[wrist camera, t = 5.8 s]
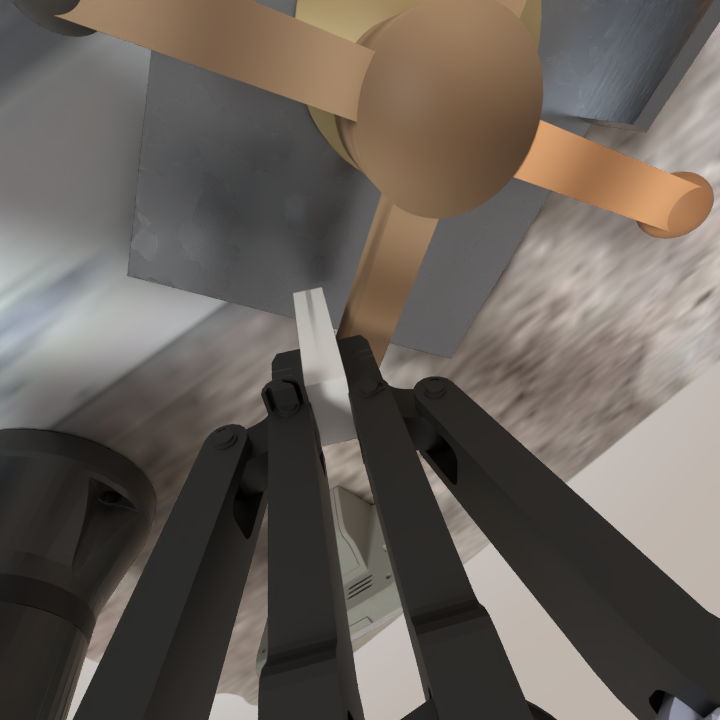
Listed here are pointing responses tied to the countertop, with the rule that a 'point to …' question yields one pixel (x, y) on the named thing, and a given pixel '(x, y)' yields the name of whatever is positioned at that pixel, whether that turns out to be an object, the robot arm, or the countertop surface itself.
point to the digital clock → (358, 568)
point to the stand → (354, 189)
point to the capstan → (403, 113)
